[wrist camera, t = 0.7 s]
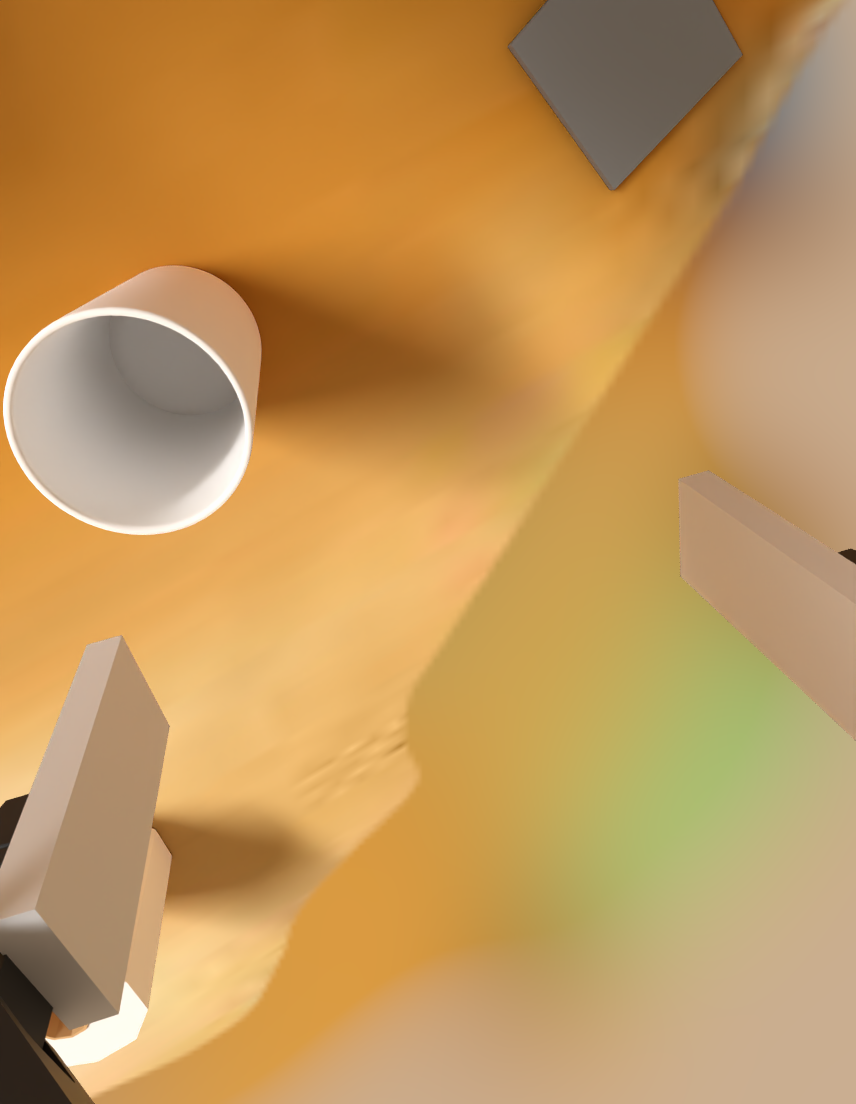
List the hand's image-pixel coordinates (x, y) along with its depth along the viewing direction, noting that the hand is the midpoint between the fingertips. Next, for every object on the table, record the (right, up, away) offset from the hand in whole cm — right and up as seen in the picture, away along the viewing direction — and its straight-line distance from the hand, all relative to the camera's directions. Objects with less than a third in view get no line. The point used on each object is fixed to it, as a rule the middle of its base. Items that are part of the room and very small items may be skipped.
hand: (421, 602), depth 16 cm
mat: (+10, +27, +20) cm, 35 cm away
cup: (-13, +13, +22) cm, 29 cm away
